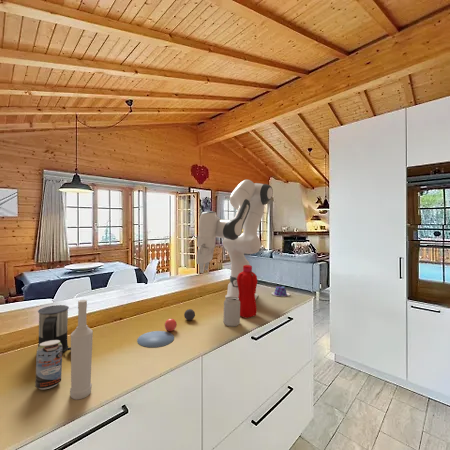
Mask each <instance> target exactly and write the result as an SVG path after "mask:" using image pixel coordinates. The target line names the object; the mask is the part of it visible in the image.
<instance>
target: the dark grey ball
mask: <svg viewBox="0 0 450 450" xmlns="http://www.w3.org/2000/svg"><path fill="white" fill-rule="evenodd" d="M183 316H184V317H183V318H185V320H186V321H192V320H194V319H195V316H196V313H195V311H194V310H193V309H192V308H188V309H187V310H185V312H184V315H183Z"/></svg>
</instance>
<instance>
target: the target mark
mask: <svg viewBox="0 0 450 450" xmlns="http://www.w3.org/2000/svg"><path fill="white" fill-rule="evenodd" d="M174 340H175V336H174V334H173V333H171V332H170V331H164V330H154V331H148V332H145V333H143V334H141V335H139V336H138V337H137V340H136V342H137V344H138V345H140V346H141V347H145V348H160V347H161V348H162V347H164V346H167V345H170V344H171V343H172V342H173V341H174Z"/></svg>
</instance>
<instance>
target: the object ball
mask: <svg viewBox="0 0 450 450" xmlns="http://www.w3.org/2000/svg"><path fill="white" fill-rule="evenodd" d="M177 326H178V325H177V320H176V319H173V318H168V319H166V321H165V323H164V328H165V330H166V332H173V331H175V329H176V328H177Z"/></svg>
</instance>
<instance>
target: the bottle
mask: <svg viewBox="0 0 450 450" xmlns="http://www.w3.org/2000/svg"><path fill="white" fill-rule="evenodd" d="M87 308H88V300H87V299H80V300H78V303H77V313H78V314H77V326H76V328H75V329H74V330H73V331H72V332H71V334H70V347H71V350H70V382H71V383H70V386H71V387H70V388H69V389H70V390H69V394H70V397H71V399H72V400H82V399H85V398H86V397H88V396H90V395H91V393H92V386H93V384H92V383H91V382H92V358H93V337H94V335H93V332H94V331H93V329H91V328H90V327H89V325H87Z"/></svg>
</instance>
